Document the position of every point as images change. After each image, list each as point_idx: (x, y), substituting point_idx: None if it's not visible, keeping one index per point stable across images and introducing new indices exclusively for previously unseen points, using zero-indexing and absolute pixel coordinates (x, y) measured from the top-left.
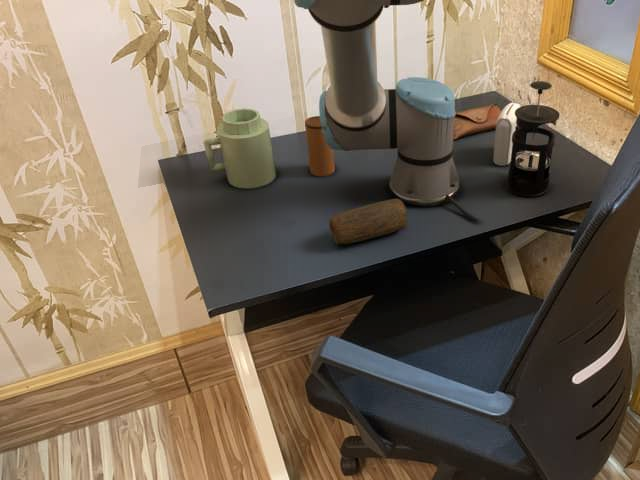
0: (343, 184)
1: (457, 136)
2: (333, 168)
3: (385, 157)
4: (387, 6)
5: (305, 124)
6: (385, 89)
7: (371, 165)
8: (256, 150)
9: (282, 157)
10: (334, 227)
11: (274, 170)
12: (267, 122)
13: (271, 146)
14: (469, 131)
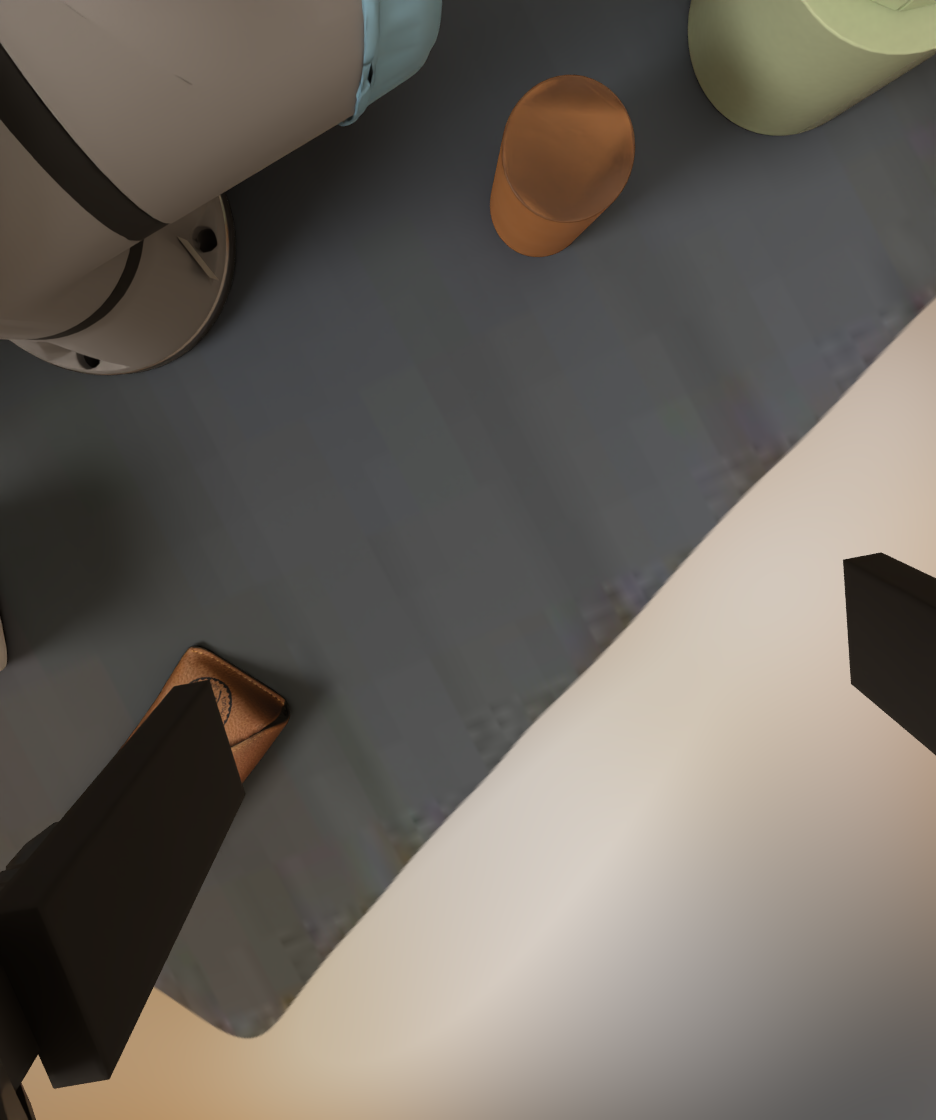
0: (405, 134)
1: (182, 659)
2: (491, 209)
3: (363, 414)
4: (168, 692)
5: (612, 92)
6: (10, 25)
7: (381, 330)
8: None
9: (748, 237)
10: None
11: (700, 49)
12: (815, 15)
13: (743, 19)
14: (153, 703)
